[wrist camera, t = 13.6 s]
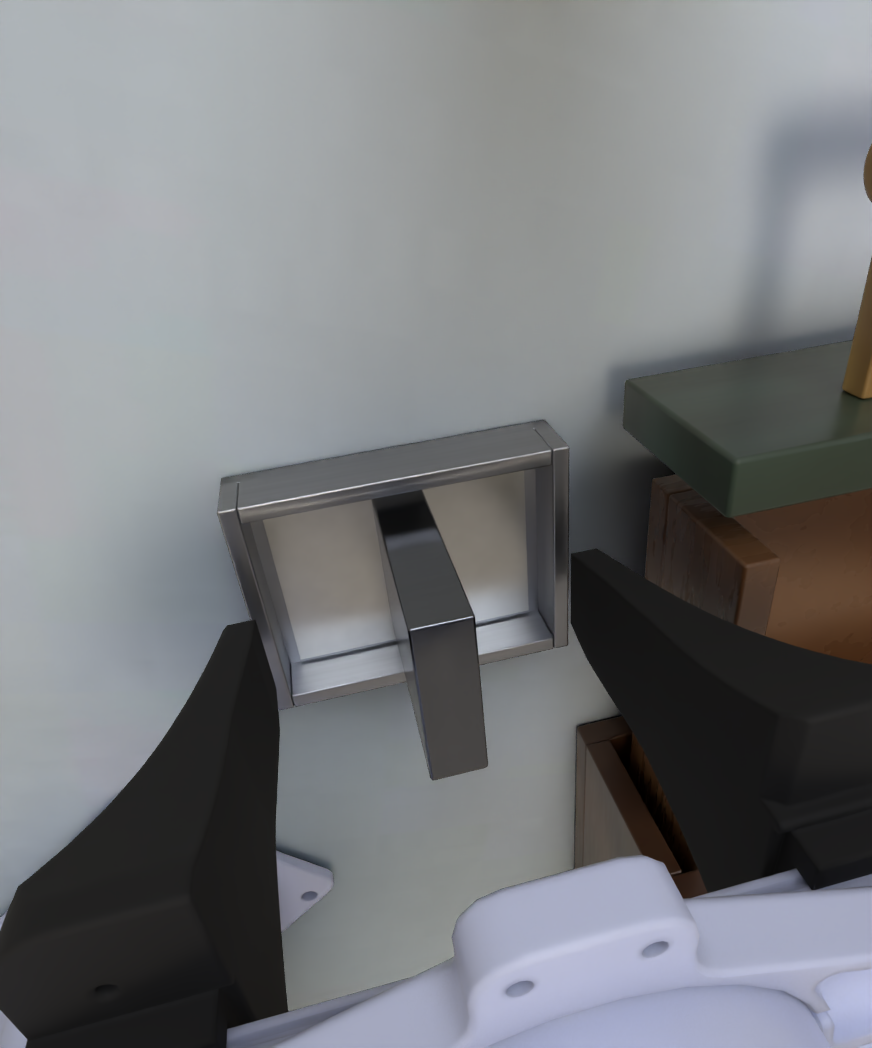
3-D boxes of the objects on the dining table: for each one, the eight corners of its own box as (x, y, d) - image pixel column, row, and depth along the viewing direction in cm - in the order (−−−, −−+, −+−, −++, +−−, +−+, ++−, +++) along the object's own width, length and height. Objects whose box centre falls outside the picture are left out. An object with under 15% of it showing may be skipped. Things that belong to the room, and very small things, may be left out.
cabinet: (575, 725, 22) (669, 909, 17) (945, 636, 24) (1131, 778, 19) (572, 979, 31) (633, 1151, 26) (842, 900, 33) (950, 1046, 27)
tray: (220, 477, 15) (201, 630, 11) (545, 419, 16) (652, 536, 12) (277, 667, 18) (281, 849, 14) (547, 609, 19) (634, 760, 15)
